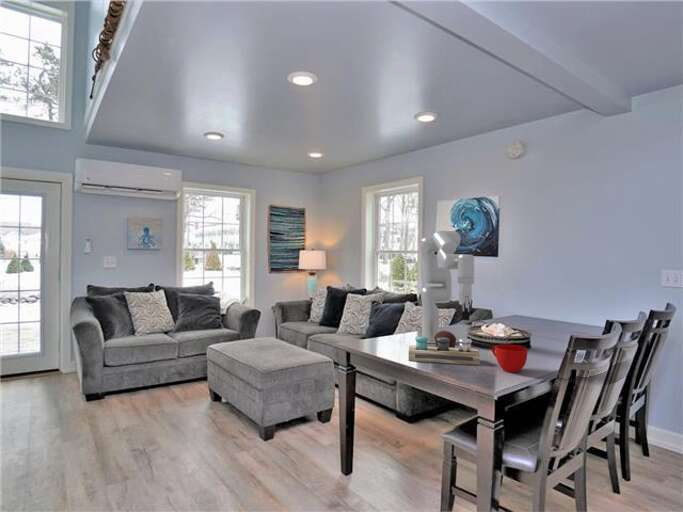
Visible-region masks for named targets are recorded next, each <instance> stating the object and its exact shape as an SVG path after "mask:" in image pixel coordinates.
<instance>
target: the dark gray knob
mask: <svg viewBox="0 0 683 512" xmlns="http://www.w3.org/2000/svg"><path fill="white" fill-rule="evenodd" d="M437 342H438V351H448V350H449V342H450V339H449V338H444V337H439V338H437Z"/></svg>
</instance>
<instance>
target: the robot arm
mask: <svg viewBox="0 0 683 512" xmlns="http://www.w3.org/2000/svg"><path fill="white" fill-rule="evenodd" d="M461 239H462V238H461V235H460V233H459V232H458V231H455V230H438V231H436V232H434V234H433V235H432V236H425V237H423V238H422V239H421V240H420V243H419V253H420V254H421V258H422V277H423V282H424V283H426V284H428V286H424V287H422V288H421V290H420V298H421V308H422V309H421V310H422V311H421V317H422V319H421V323H422V324H421V336H423V337H428V341H427V344H435V339H434V337H435V335H436V334H437V333H438V332H440V309H439V308H438V306H437V305H436V304H445V303H446V304H447V303H450V301H451V300H452V297H453V295H452V293H453V289H452V288H453V285H452V272H451V271H450V270H457V285H459V288H458V304H459V305H460V306H462V310H461V320H463V321H469V320H470V306H471V305H472V298H473V297H472V296H473V295H472V286H473V285H475V257H474V255H473V254H465V253H464V254H463V253H461V254H459V253H456V251H457V247H459V245H460V244H461ZM434 252H435V253H437V255H436V254H435V253H434ZM439 265H440V266H441V267H439ZM431 285H432V286H431ZM435 285H438V286H435ZM439 285H440V286H439Z"/></svg>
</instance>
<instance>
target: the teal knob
mask: <svg viewBox="0 0 683 512" xmlns="http://www.w3.org/2000/svg"><path fill="white" fill-rule="evenodd" d="M414 338H415V342H416V345H415V346H416V350H427V347H428V343H427V341H428V337H423V336H422V335H421V336H415V337H414Z"/></svg>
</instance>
